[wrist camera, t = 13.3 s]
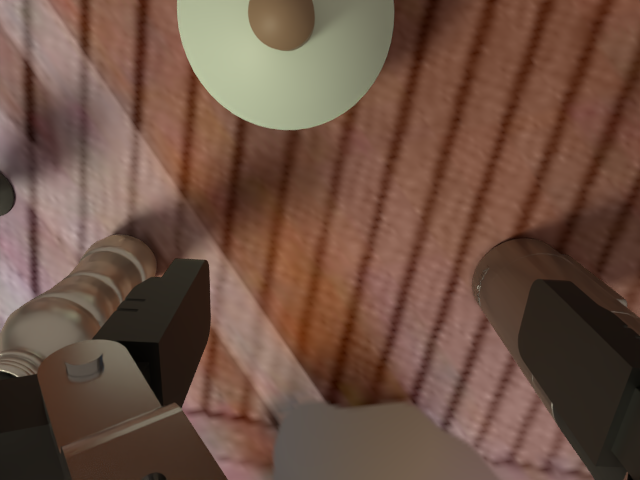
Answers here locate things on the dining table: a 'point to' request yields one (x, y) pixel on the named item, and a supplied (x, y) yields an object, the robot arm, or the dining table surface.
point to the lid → (286, 55)
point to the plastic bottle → (74, 304)
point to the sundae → (5, 195)
